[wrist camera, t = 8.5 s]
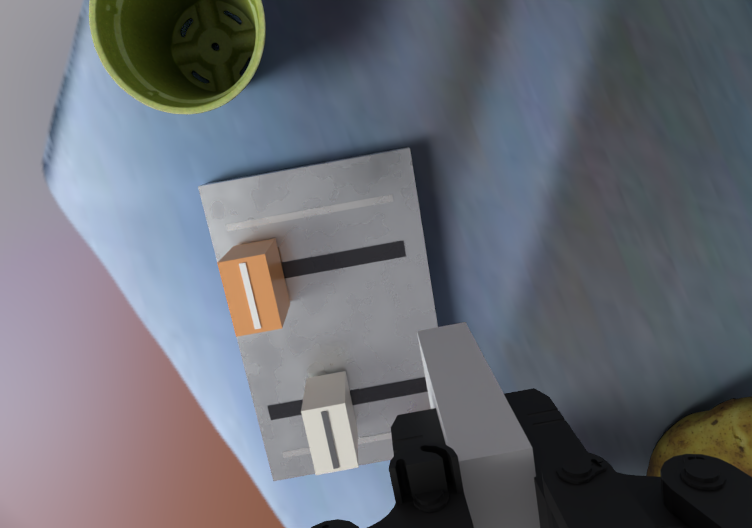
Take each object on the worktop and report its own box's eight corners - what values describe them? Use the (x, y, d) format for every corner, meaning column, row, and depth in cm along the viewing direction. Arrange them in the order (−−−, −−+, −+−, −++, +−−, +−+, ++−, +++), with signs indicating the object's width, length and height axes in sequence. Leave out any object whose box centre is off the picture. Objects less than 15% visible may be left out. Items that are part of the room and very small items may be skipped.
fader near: (275, 238, 39) (264, 254, 34) (290, 304, 40) (282, 328, 35) (233, 245, 39) (216, 263, 34) (249, 311, 40) (235, 337, 35)
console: (406, 147, 40) (410, 148, 38) (452, 434, 46) (456, 448, 44) (205, 183, 40) (197, 186, 38) (276, 466, 46) (273, 481, 44)
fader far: (345, 371, 41) (344, 403, 36) (357, 428, 43) (358, 468, 38) (306, 378, 41) (300, 411, 36) (319, 435, 43) (315, 476, 38)
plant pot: (123, 71, 38) (58, 54, 29) (184, -58, 36) (134, -114, 28) (244, 142, 39) (215, 146, 31) (308, 22, 38) (296, -8, 29)
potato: (611, 429, 46) (664, 489, 39) (751, 358, 45) (833, 405, 38) (647, 501, 48) (704, 572, 41) (781, 435, 47) (866, 494, 40)
